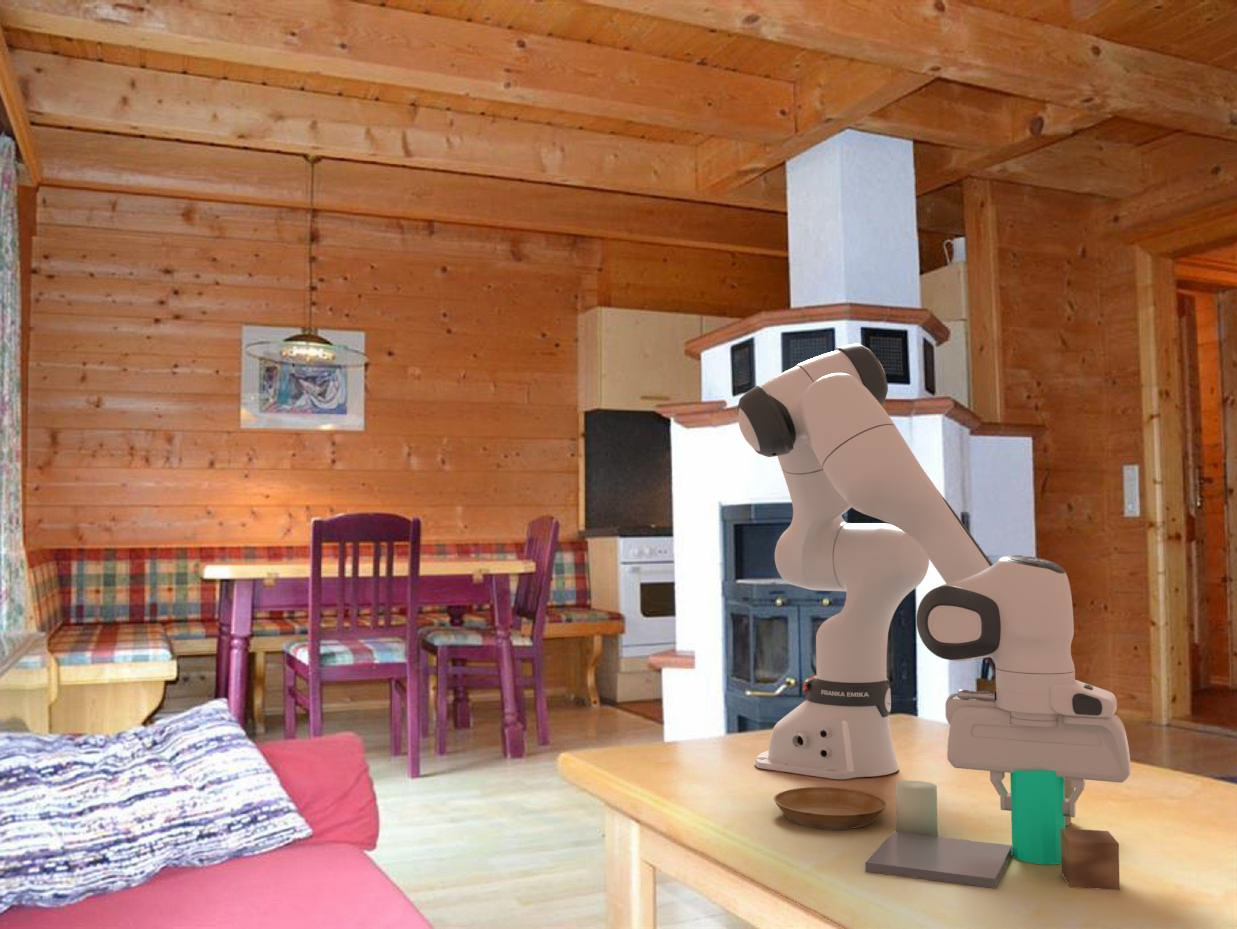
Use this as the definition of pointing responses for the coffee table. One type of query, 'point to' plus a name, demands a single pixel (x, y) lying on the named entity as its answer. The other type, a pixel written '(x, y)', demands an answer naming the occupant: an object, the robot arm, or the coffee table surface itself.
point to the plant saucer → (830, 807)
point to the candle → (1037, 816)
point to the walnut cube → (1090, 859)
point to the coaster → (941, 859)
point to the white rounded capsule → (916, 808)
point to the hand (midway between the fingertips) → (1037, 812)
